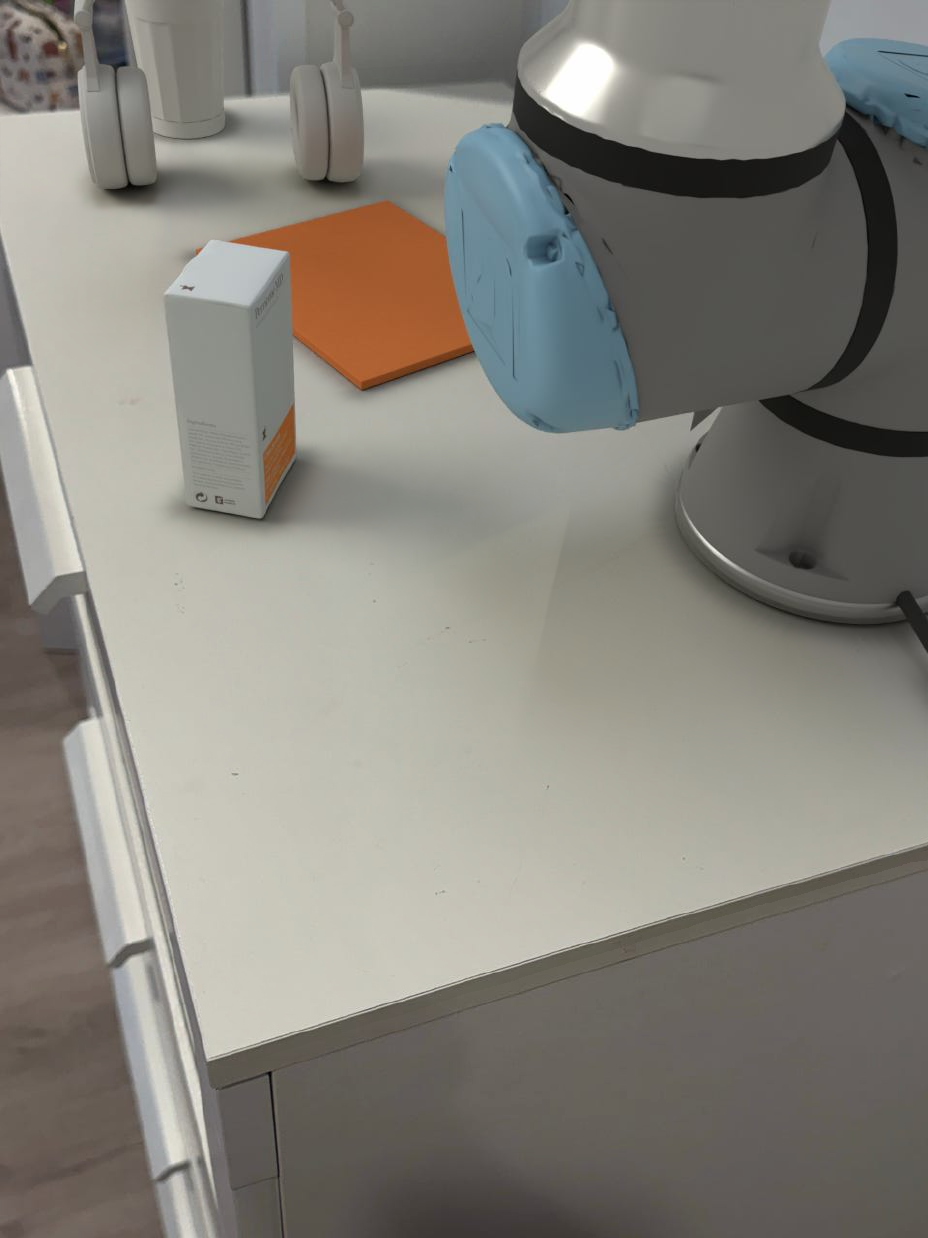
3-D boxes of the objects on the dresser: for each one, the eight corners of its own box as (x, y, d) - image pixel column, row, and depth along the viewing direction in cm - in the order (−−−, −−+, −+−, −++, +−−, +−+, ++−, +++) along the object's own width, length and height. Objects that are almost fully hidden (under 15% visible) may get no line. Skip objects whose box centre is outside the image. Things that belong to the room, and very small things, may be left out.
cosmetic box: (265, 522, 60) (249, 307, 52) (185, 508, 60) (157, 293, 52) (301, 456, 64) (292, 248, 56) (226, 443, 65) (207, 235, 57)
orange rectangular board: (563, 320, 77) (564, 311, 77) (361, 390, 69) (361, 381, 69) (387, 207, 88) (387, 199, 88) (196, 257, 81) (195, 248, 80)
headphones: (92, 208, 85) (44, -98, 72) (93, 162, 91) (48, -129, 78) (366, 200, 89) (368, -92, 76) (350, 155, 95) (349, -122, 82)
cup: (226, 145, 95) (214, -18, 87) (127, 138, 95) (105, -26, 87) (242, 109, 101) (232, -47, 93) (149, 103, 101) (130, -55, 92)
